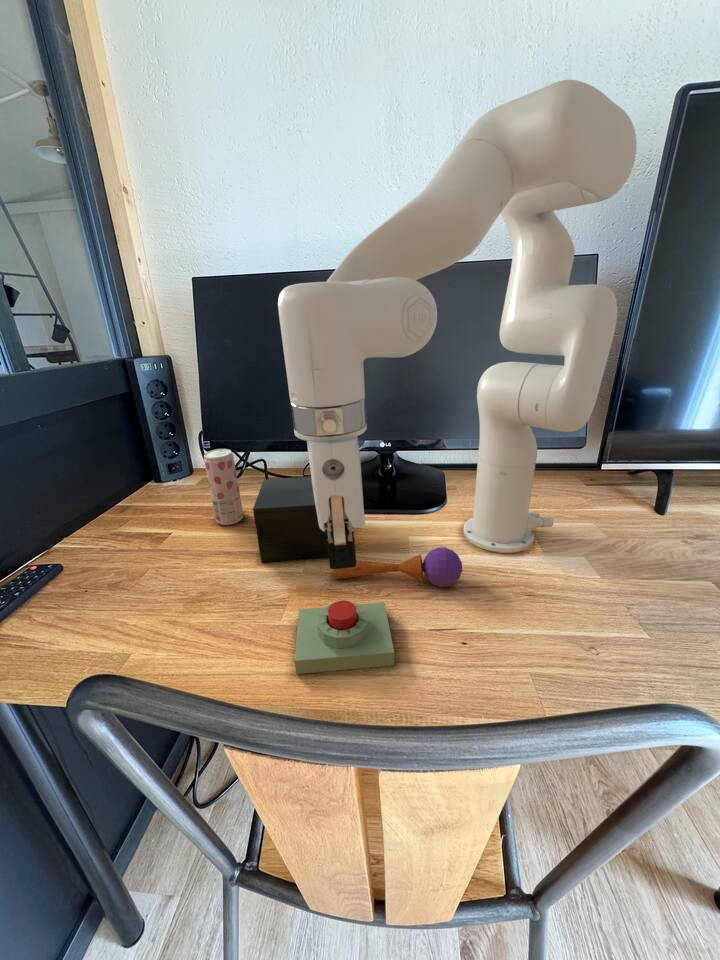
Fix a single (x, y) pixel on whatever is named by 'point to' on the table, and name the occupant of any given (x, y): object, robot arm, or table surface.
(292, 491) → the lid
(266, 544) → the black box
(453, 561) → the kendama
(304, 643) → the control block
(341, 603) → the button
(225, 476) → the beverage can
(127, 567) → the table surface
